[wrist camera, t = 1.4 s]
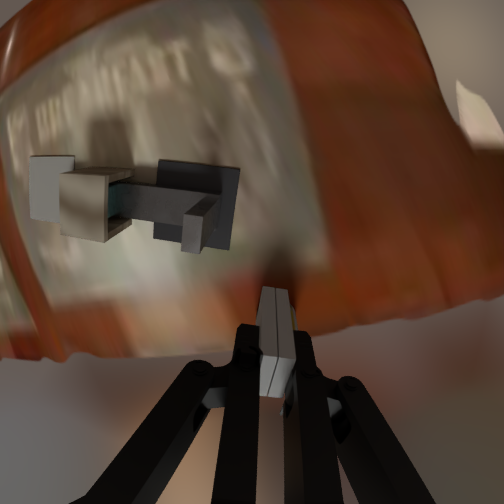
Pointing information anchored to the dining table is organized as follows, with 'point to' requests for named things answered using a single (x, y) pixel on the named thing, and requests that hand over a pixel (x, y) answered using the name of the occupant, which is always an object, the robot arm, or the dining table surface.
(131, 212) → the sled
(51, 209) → the mat
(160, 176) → the grey shoe shape
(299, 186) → the dining table surface
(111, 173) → the tunnel
